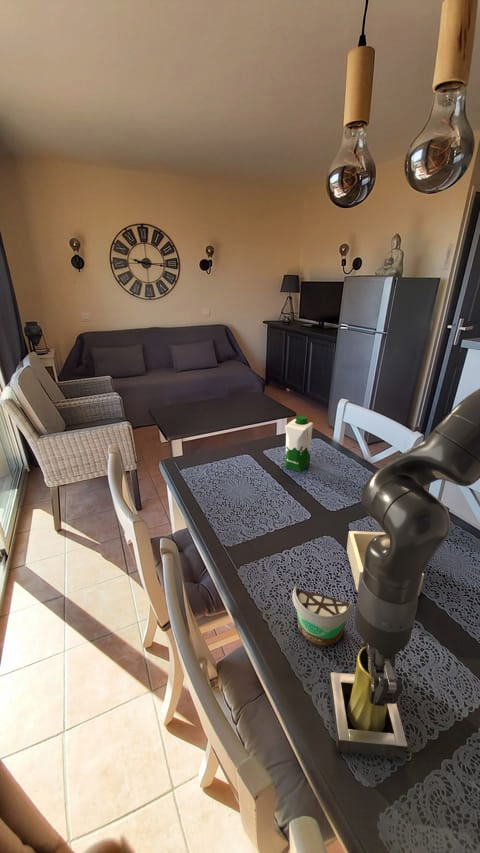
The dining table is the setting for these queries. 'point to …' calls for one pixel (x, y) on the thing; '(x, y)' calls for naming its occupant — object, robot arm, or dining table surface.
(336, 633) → the food container
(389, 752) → the grey square frame
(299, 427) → the milk carton
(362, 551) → the cream wooden open box
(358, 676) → the vase
